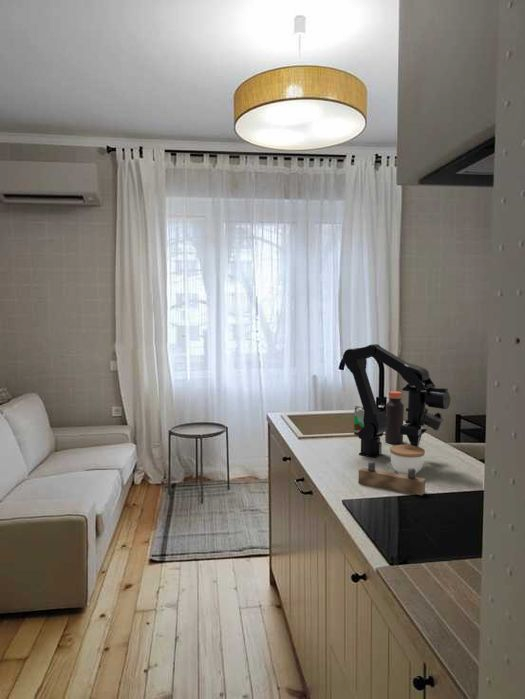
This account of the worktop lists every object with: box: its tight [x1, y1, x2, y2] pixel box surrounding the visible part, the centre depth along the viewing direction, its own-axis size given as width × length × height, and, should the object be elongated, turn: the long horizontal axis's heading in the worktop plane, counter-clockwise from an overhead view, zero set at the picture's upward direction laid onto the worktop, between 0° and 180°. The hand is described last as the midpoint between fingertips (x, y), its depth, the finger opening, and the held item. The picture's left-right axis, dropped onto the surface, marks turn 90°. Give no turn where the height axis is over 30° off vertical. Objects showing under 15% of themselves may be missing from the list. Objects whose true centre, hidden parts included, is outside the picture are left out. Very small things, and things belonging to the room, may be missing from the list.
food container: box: [353, 405, 364, 435], centre depth 215 cm, size 12×6×10 cm, turn 168°
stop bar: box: [357, 461, 426, 496], centre depth 148 cm, size 19×3×6 cm, turn 58°
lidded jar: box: [389, 443, 426, 476], centre depth 161 cm, size 11×11×9 cm
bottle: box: [384, 390, 405, 445], centre depth 198 cm, size 7×7×20 cm
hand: (415, 450), depth 170 cm, fingers closed
